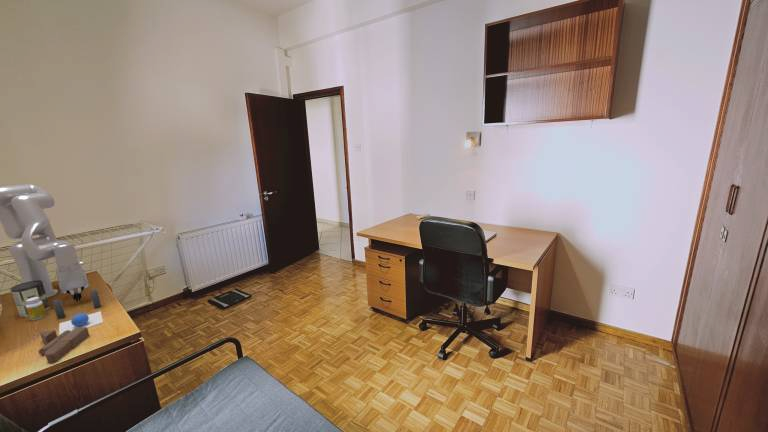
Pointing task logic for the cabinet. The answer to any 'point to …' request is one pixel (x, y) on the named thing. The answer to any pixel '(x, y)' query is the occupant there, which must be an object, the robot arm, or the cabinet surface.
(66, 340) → the wooden block set
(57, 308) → the post
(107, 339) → the cabinet surface
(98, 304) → the post
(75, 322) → the ball
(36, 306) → the supplement bottle
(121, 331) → the cabinet surface
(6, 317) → the cabinet surface
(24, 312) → the coffee can
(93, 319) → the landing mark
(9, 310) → the cabinet surface
